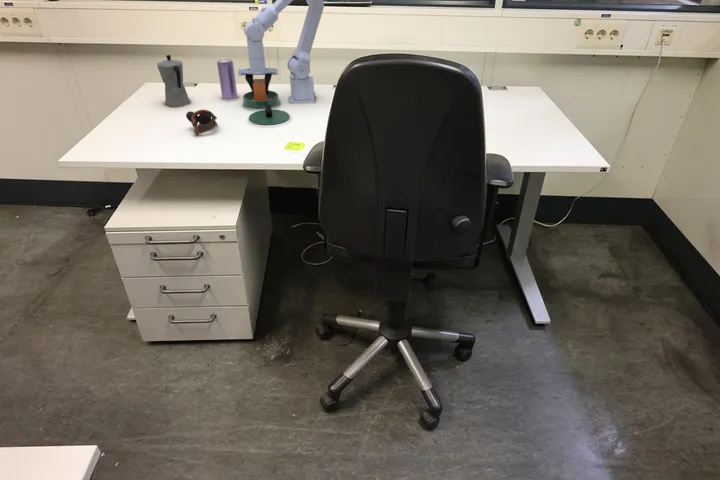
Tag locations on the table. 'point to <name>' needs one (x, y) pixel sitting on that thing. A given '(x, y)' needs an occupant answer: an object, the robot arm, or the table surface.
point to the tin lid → (269, 116)
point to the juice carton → (259, 90)
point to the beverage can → (227, 78)
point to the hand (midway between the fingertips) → (260, 94)
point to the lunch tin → (260, 104)
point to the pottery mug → (202, 120)
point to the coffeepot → (173, 82)
